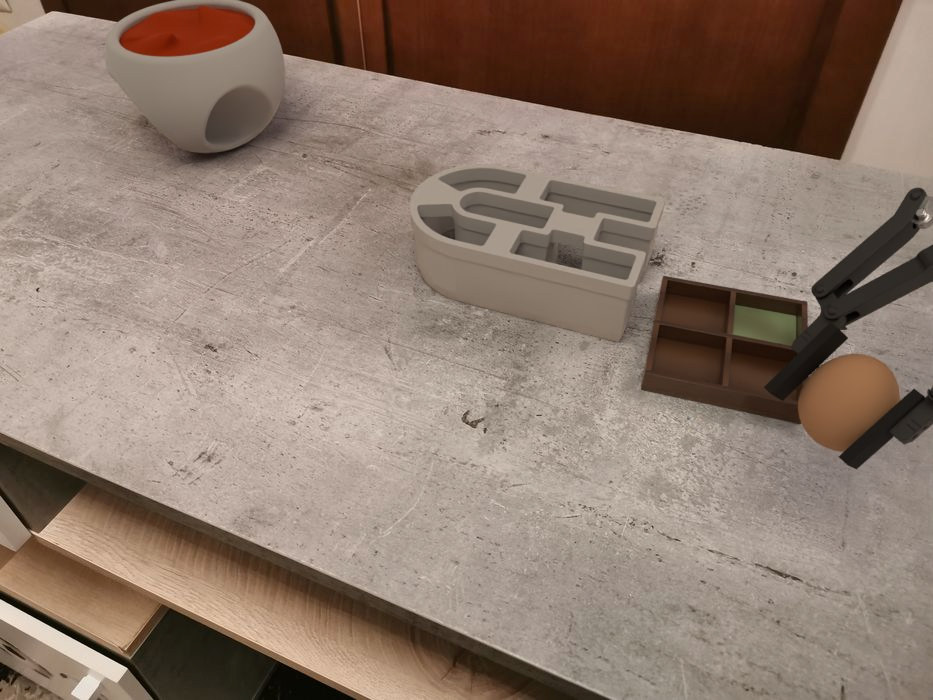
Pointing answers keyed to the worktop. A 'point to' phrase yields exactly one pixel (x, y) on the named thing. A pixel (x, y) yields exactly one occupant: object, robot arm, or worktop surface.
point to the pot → (199, 70)
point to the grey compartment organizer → (534, 245)
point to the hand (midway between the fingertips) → (809, 427)
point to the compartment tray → (723, 346)
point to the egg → (846, 399)
